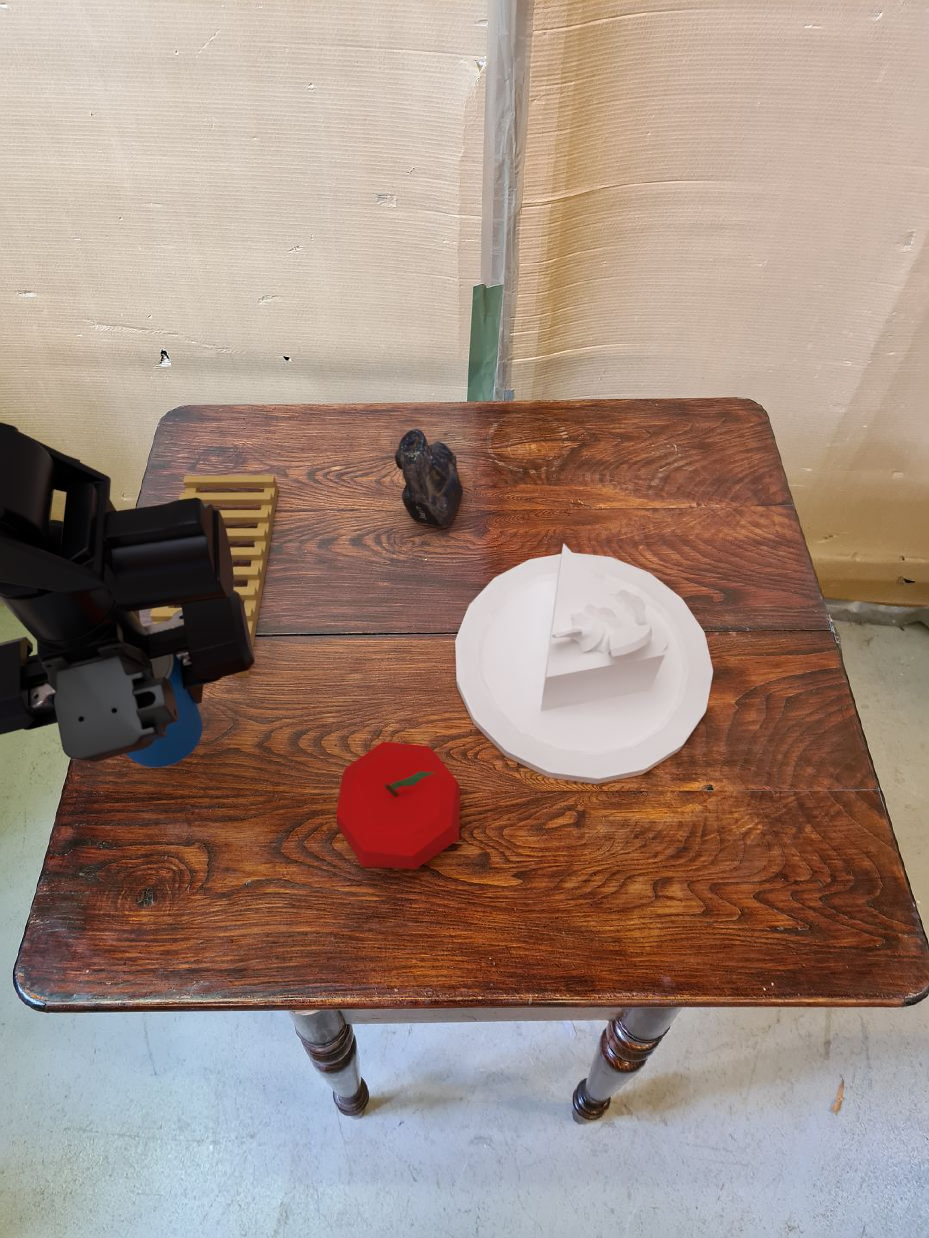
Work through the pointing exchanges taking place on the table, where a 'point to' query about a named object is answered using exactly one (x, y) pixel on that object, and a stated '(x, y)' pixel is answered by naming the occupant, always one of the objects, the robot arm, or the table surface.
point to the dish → (583, 667)
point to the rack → (239, 535)
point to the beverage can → (180, 733)
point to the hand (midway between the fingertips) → (153, 710)
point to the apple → (398, 806)
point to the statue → (428, 480)
